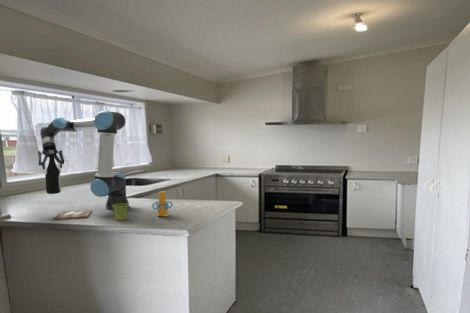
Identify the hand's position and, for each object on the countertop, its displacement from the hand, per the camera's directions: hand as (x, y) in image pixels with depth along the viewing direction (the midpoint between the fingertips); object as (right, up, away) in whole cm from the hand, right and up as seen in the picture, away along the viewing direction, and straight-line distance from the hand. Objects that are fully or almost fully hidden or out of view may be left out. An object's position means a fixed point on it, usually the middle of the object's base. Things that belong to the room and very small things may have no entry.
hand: (53, 172), depth 200 cm
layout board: (+12, -27, +1) cm, 30 cm away
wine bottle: (-2, -14, +4) cm, 14 cm away
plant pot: (+45, -28, -8) cm, 53 cm away
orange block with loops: (+67, -27, 0) cm, 73 cm away
